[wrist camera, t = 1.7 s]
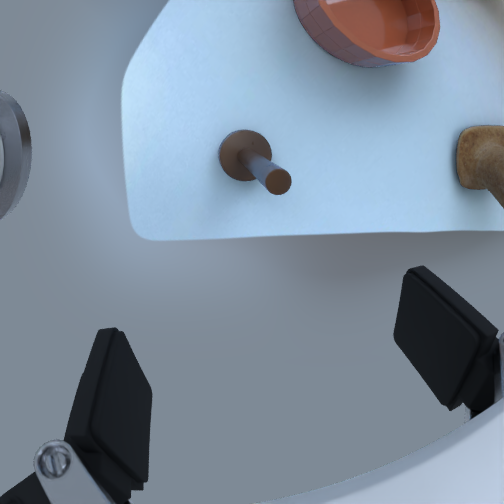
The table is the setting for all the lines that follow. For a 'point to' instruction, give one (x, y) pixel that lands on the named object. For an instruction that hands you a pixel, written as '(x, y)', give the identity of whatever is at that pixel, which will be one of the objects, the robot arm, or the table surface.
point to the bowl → (372, 29)
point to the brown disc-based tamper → (252, 161)
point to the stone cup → (482, 159)
